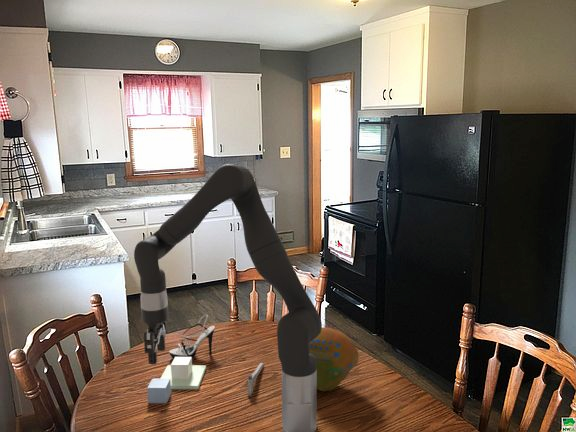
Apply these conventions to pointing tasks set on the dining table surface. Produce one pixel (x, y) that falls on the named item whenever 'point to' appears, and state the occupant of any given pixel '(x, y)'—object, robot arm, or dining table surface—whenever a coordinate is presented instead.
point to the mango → (332, 357)
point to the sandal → (192, 350)
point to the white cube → (181, 368)
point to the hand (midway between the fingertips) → (157, 356)
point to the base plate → (185, 383)
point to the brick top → (159, 390)
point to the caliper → (253, 378)
